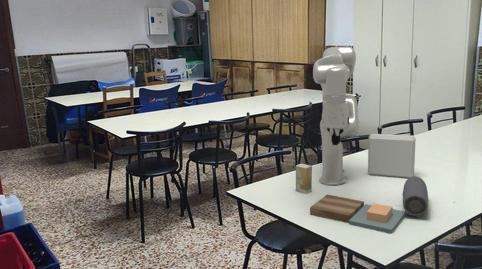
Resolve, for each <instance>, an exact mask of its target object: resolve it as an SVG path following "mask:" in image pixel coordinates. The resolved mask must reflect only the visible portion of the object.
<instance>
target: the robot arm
mask: <svg viewBox="0 0 482 269" xmlns="http://www.w3.org/2000/svg"><path fill="white" fill-rule="evenodd" d="M356 60H357V54H356V50H355V48H353V47H352V46H348V45H347V46H331V47H327V48H326V49H325V50H324V51H323V53H322V58H319V59H318V60H316V61H314V64H313V66H312V68H313V69H312V78H313V81H314V82H315V83H316V84H319V85H320V87H321V89H322V90H321V91H322V113H321V120H320V123H319V129H320V135H321V153H322V154H321V156H322V157H321V158H322V159H321V160H322V161H321V167H322V169H321V172H322V173H321V174H322V176H320V177H319V178H318V182H319V183H320V184H322V185H326V186H341V185H344V184H346V182H347V178H345V177H344V176H343V174H344V172H345V170H344V162H343V160H344V159H343V158H344V156H343V155H344V154H343V153H344V152H343V151H344V146H343V143H342V142H341V138H343V137H344V138H346V137H347V138H348V137H349V138H352V137H355V136H358V134H359V131H360V130H359V129H360V125H359V124H360V122H359V106H358V101H357V98H356V96H354V95H350V94H348V95H347V81H348V80H349V79H350V76H352V75H353V74H354V72H355V65H356Z"/></svg>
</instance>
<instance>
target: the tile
mask: <svg viewBox="0 0 482 269" xmlns="http://www.w3.org/2000/svg"><path fill="white" fill-rule="evenodd" d="M371 205H372V206H371V207H370V209H369V210H368V211H367V220H372V221H378V222H383V223H386V222H387V221H388V219H389V218H390V216H391V215H392V209H393V206H391V205H385V204H380V203H373V204H371Z"/></svg>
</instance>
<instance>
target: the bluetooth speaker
mask: <svg viewBox="0 0 482 269" xmlns="http://www.w3.org/2000/svg"><path fill="white" fill-rule="evenodd" d="M402 190H403V191H402V205H403V209H404V211H405V212H406V214H408V215H409V216H414V217H420V216H422V215H424V214H426V212H427V210H428V206H429V192H428V187H427V184H426V182H425V181H424V179H423V178H421V176H415V175H414V176H413V177H410V178H406V180H405V182H404V185H403V188H402Z"/></svg>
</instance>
